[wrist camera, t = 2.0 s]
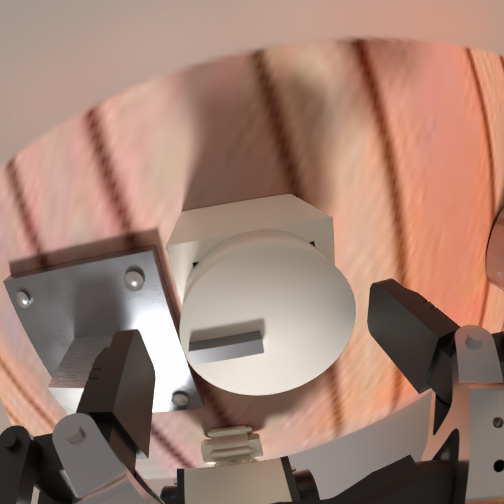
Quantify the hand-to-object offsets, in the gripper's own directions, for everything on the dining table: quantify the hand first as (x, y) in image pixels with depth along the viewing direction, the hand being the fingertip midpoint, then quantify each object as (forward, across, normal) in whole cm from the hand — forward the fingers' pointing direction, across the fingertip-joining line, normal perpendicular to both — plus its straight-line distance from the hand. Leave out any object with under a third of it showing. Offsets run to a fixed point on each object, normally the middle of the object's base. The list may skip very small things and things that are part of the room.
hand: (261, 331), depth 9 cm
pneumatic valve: (+8, +3, +18) cm, 20 cm away
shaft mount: (+8, +10, +6) cm, 14 cm away
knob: (+8, 0, 0) cm, 8 cm away
